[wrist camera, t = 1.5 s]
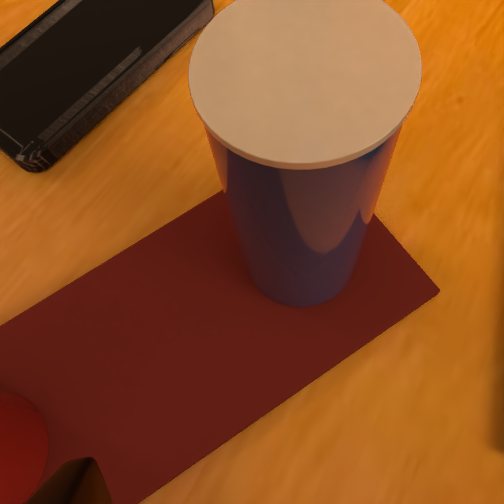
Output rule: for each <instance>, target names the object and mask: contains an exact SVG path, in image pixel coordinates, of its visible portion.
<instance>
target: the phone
mask: <svg viewBox="0 0 504 504" xmlns="http://www.w3.org/2000/svg"><path fill="white" fill-rule="evenodd" d="M213 15H214V5H213V0H59V1H57V2H56V3H55V4H54V5H53V6H51V7H50V8H49V9H48V10H46V11H45V12H44V13H43V14H41V15H40V16H39V17H38V18H37V19H35V20H34V21H33V22H32V23H30V24H29V25H28V26H27V27H25V28H24V29H23V30H22V31H21V32H19V33H18V34H17V35H16V36H14V37H13V38H12V39H11V40H9V41H8V42H7V43H6V44H5V45H3V46H2V47H1V48H0V149H1V150H2V151H3V152H4V153H6V154H7V155H8V156H9V157H10V158H11V159H12V160H14V161H15V162H16V163H17V164H18V165H19V166H20V167H22V168H23V169H25V170H26V171H30V172H38V171H42V170H44V169H47V168H48V167H49V166H51V165H52V164H53V163H54V162H55V161H57V160H58V159H59V158H60V157H61V156H62V155H63V154H64V153H65V152H66V151H68V150H69V149H70V148H71V147H72V146H73V145H74V144H75V143H76V142H77V141H79V140H80V139H81V138H82V137H83V136H84V135H85V134H86V133H87V132H88V131H90V130H91V129H92V128H93V127H94V126H95V125H96V124H97V123H98V122H99V121H100V120H102V119H103V118H104V117H105V116H106V115H107V114H108V113H109V112H110V111H111V110H113V109H114V108H115V107H116V106H117V105H118V104H119V103H120V102H121V101H122V100H123V99H125V98H126V97H127V96H128V95H129V94H130V93H131V92H132V91H133V90H134V89H136V88H137V87H138V86H139V85H140V84H141V83H142V82H143V81H144V80H145V79H146V78H148V77H149V76H150V75H151V74H152V73H153V72H154V71H155V70H156V69H157V68H159V67H160V66H161V65H162V64H163V63H164V62H165V61H166V60H167V59H168V58H169V57H171V56H172V55H173V54H174V53H175V52H176V51H177V50H178V49H179V48H180V47H182V46H183V45H184V44H185V43H186V42H187V41H188V40H189V39H190V38H191V37H193V36H194V35H195V34H196V33H197V32H198V31H199V30H200V29H201V28H202V27H203V26H205V25H206V24H207V23H208V22H209V21H210V20H211V18H212V17H213Z"/></svg>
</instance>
